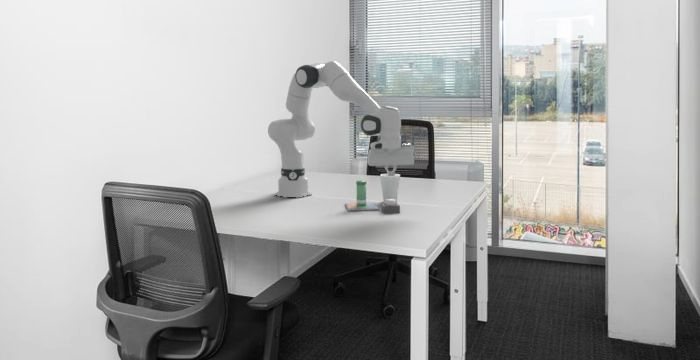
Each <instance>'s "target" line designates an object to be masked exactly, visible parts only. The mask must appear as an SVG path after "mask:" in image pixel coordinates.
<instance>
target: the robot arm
mask: <svg viewBox="0 0 700 360" xmlns="http://www.w3.org/2000/svg"><path fill="white" fill-rule="evenodd" d="M321 87H322V88H323V87H328V88H329V90H330V91H331V92H332V94H334V95H335V97H336V98H337V99H339V100H340V101H343V102H347V103H351V104H353V105H354V104H355V105H357V106H359V107H360V108H361V109H363V110H364V111H365V113H367V114H365V115H364V116H363V118H362V119H361V121H360V128H361V131H362V133H363V134H364V135H366V136H369V137H377V136H379V137H380V139H379V140H376V141H374V142H371V143H370V145H369V147H370V149H369V150H368V153H367V159H366V160H367V165H368V166H369V167H384V169H385V171H386V172H387V173H386V174H387V176H394V174H395V172H396V170H398V169H397V168H398V166H414V164H415V156H414V153H415V146H414V145H413V144H411V143H402V135H401V128H402V117H401V112H400V109H399V108H397V107H396V106H391V105H385V106H382V107H381V106H380V104H378V102H377V101H376V100H374V99H373V97H372V96H371V95H370V94H369V93H368V92H367V91H366V90H365V89H363V87H361V86H360V84H358V83H357V81H356V80H355V79H354V78H353V77H352V76H351V74H350V73H349V71H347V69H345V67H344V66H342V65H341V64H340V63H339V62H338V61H335V60H331V61H327V62H326V63H313V64H312V63H311V64H304V65H300V66H299V67H298V68H297V69H296V71H295V73H294V74H293V76H292V78H291V81H290V84H289V87H288V92H287V97H286V101H285V108H286V109H287V111H288V112H289V113H291V114H292V115H291V118H286V119H285V118H284V119H277V120H273V121H271V122H270V123H269V125H268V127H267V133H268V137H269V138H270V139H271V141H273V142H274V143H275V144H276V145H277V147H278V149H279V152H280V156H281V157H280V159H281V168H280V175H281V177H280V178H278V182H277V183H278V184H277V185H278V188H277V190H278V191H277V192H276V193H274V196H275V195H277V196H276V197H280V196H283V197H282V198H287V197H296V198H303V196H304V197H308V196H313V193H312V192H311V190H309V182H308V178H307V177H306V174H305V173H306V171H305V169H306V168H305V166H304V165H305V163H304V159H305V158H304V153H303V151H302V149H299V148H298V147H296V144H295V141H305V140H308V139H310V138H313V137H314V135H315V133H316V126H315V123H314V122H313V120H311V118H310V117H309V107H310V100H311V96H312V91H313V89H317V88H318V89H319V88H321ZM389 166H391V167H392V168H393V169H392V171H391V170H390V171H389ZM307 195H308V196H307Z"/></svg>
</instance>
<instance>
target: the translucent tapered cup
mask: <svg viewBox="0 0 700 360" xmlns="http://www.w3.org/2000/svg"><path fill="white" fill-rule="evenodd" d="M379 177H380V178H379V179H380V183H381V184H380V185H381V193H382V200H383V203H386V199H395V200H396V203H398V197H399V196H398V195H399V189H400V181H401V174H399V173H394V176H387V173H381V174H380V176H379Z"/></svg>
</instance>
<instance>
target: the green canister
mask: <svg viewBox="0 0 700 360" xmlns="http://www.w3.org/2000/svg"><path fill="white" fill-rule="evenodd" d="M355 183H356V203H357V206H366V203H367V180H356V182H355Z"/></svg>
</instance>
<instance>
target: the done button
mask: <svg viewBox="0 0 700 360" xmlns="http://www.w3.org/2000/svg"><path fill="white" fill-rule="evenodd" d="M384 203H385V202H384ZM396 203H397V202H396V200H395V199H386V203H385V205H386V206H393V205H396Z"/></svg>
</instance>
